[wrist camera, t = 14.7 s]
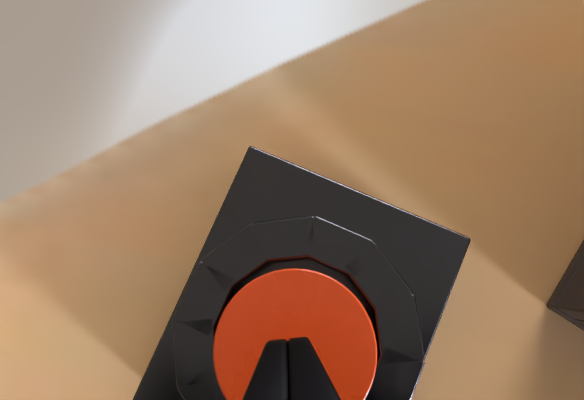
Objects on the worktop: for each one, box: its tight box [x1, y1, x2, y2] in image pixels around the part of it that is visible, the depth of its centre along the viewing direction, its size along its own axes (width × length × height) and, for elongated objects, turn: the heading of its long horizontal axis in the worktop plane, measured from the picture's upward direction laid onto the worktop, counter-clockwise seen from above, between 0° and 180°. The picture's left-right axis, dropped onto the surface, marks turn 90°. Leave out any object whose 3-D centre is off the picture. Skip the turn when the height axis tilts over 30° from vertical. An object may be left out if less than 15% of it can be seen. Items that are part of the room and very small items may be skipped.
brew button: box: [213, 268, 377, 400], centre depth 12 cm, size 4×4×2 cm
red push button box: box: [133, 146, 470, 400], centre depth 16 cm, size 10×8×6 cm
